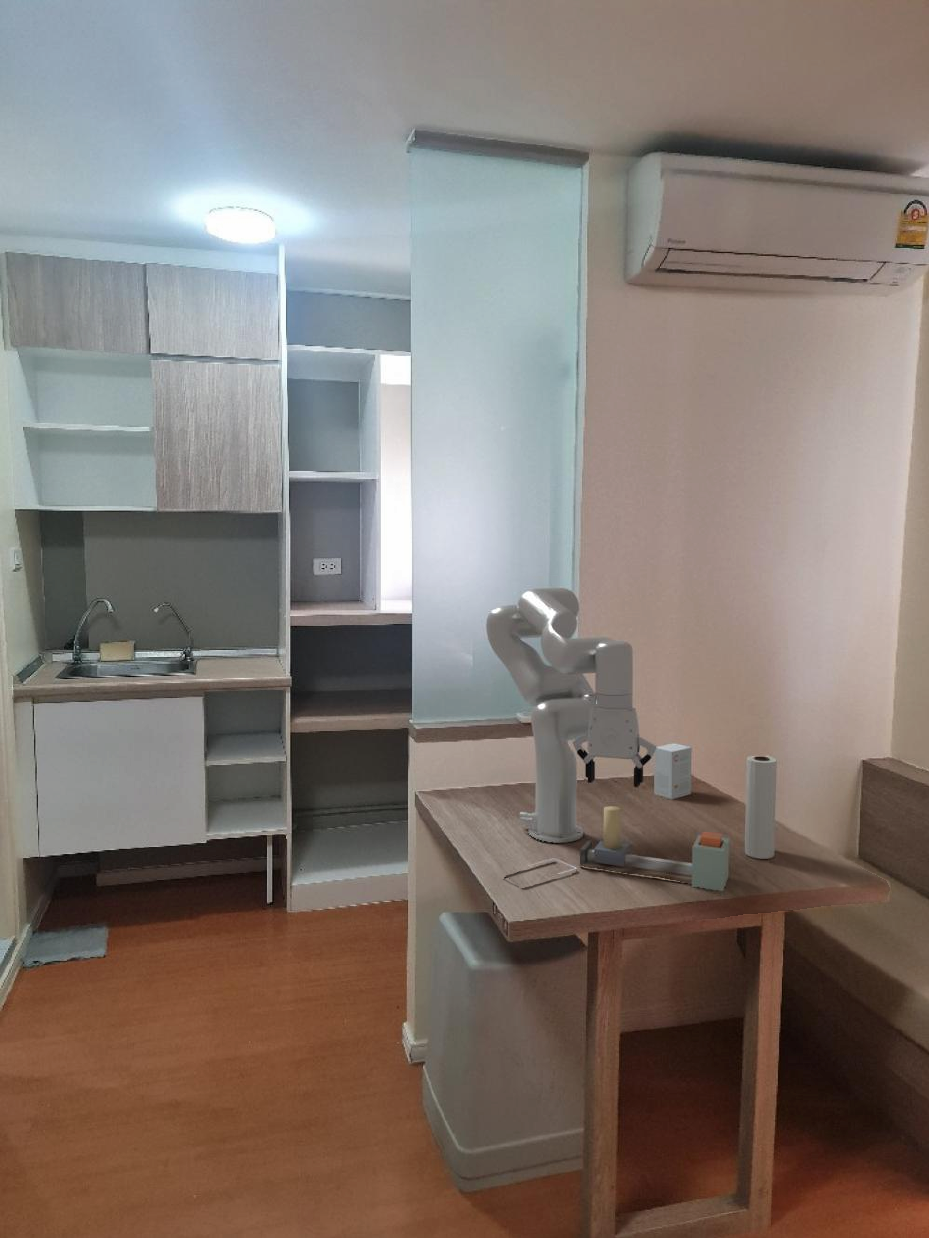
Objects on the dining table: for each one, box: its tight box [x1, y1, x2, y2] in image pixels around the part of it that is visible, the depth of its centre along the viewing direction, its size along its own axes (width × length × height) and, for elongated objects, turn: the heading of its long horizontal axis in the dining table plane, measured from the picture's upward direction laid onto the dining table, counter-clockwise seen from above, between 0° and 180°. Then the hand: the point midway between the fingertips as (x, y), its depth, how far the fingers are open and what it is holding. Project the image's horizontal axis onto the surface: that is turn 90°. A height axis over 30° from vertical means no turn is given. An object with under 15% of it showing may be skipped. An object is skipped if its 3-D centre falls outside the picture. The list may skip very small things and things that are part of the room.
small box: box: [653, 742, 693, 800], centre depth 234 cm, size 8×6×13 cm
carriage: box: [594, 805, 630, 867], centre depth 182 cm, size 6×6×11 cm
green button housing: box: [691, 834, 730, 892], centre depth 174 cm, size 6×8×8 cm
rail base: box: [579, 839, 692, 885], centre depth 180 cm, size 23×6×4 cm, turn 66°
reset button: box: [700, 831, 723, 848], centre depth 173 cm, size 4×4×3 cm
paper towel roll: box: [744, 754, 778, 860], centre depth 188 cm, size 7×6×21 cm
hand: (613, 783), depth 180 cm, fingers open, 9 cm apart
